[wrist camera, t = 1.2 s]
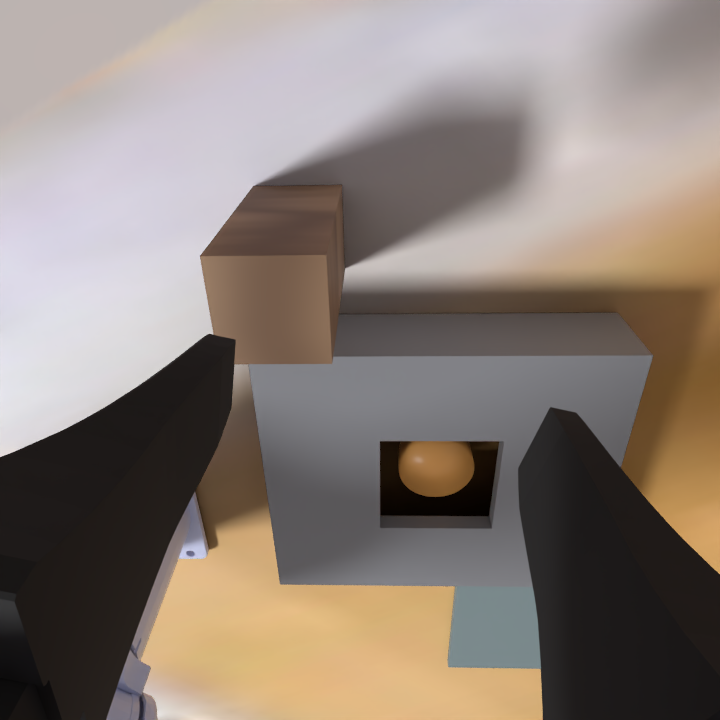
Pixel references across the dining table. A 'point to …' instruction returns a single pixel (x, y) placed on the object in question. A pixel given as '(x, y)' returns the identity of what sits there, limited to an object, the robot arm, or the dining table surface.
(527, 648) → the mat
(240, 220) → the tall wooden block
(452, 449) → the button
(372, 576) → the grey flat block
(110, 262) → the dining table surface
